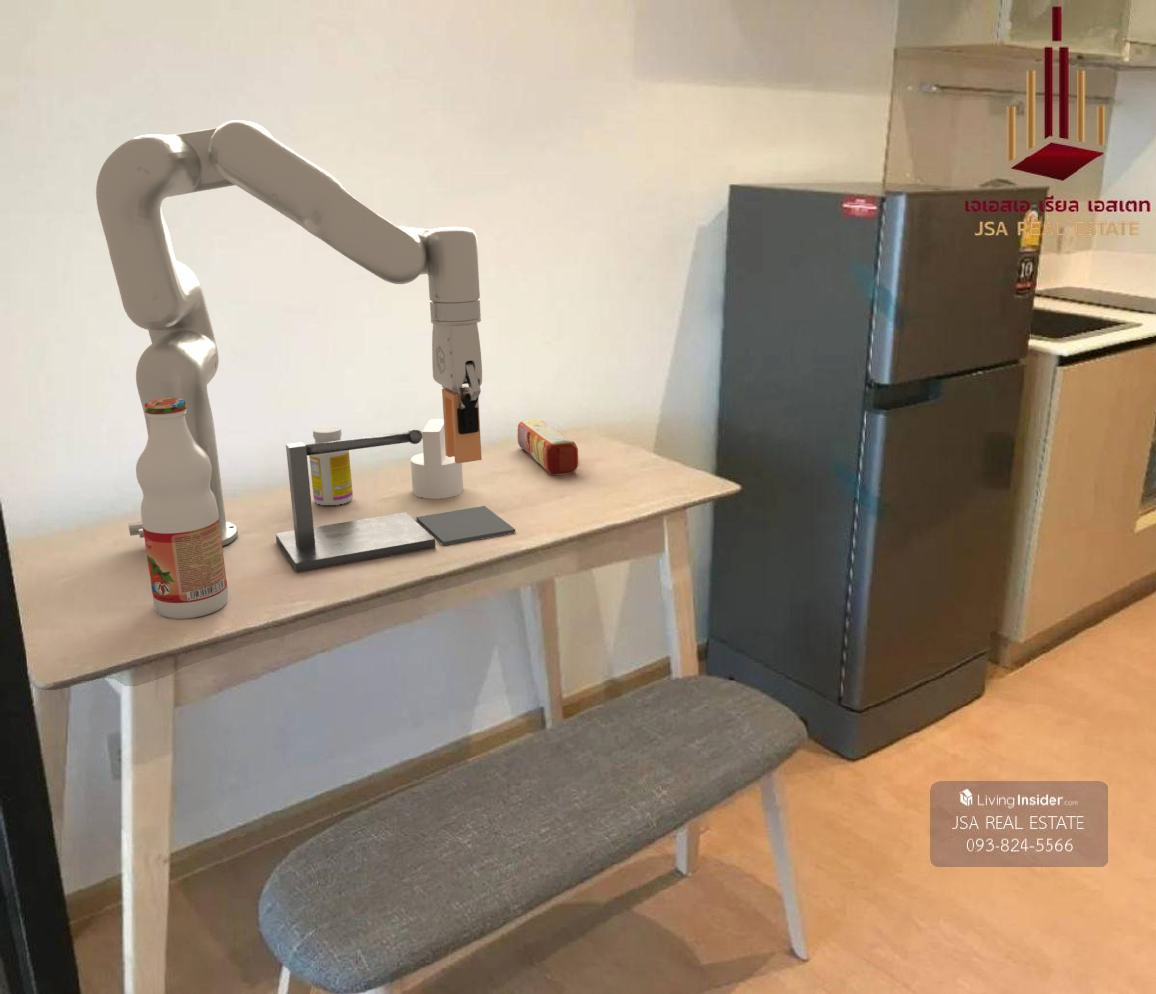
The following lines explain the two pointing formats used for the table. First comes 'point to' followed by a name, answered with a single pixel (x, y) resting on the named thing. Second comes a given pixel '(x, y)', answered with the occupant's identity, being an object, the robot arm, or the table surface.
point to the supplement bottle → (330, 470)
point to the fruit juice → (180, 517)
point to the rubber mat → (464, 525)
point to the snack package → (548, 447)
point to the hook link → (456, 443)
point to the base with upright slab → (435, 466)
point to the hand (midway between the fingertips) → (461, 427)
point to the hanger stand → (347, 538)
